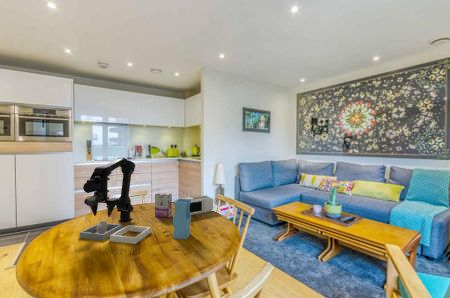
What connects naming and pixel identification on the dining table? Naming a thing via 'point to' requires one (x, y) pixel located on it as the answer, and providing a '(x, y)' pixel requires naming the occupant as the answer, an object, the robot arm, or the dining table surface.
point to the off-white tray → (133, 240)
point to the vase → (182, 219)
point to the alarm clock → (200, 204)
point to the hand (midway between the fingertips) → (102, 216)
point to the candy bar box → (163, 205)
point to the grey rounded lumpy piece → (102, 227)
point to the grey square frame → (97, 236)
